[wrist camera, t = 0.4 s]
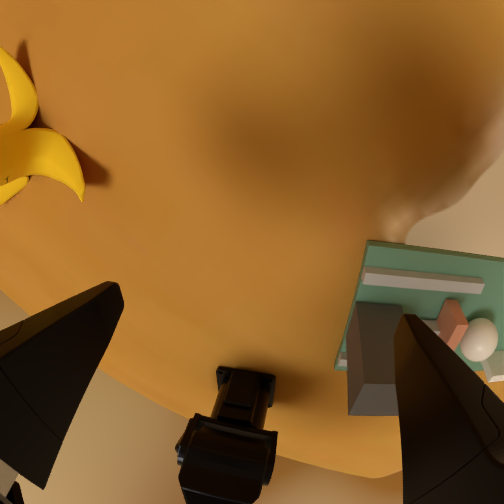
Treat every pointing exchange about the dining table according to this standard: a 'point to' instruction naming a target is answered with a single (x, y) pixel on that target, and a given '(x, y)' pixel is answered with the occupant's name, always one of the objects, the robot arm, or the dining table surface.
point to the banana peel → (31, 140)
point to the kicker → (386, 353)
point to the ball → (479, 340)
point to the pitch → (434, 290)
